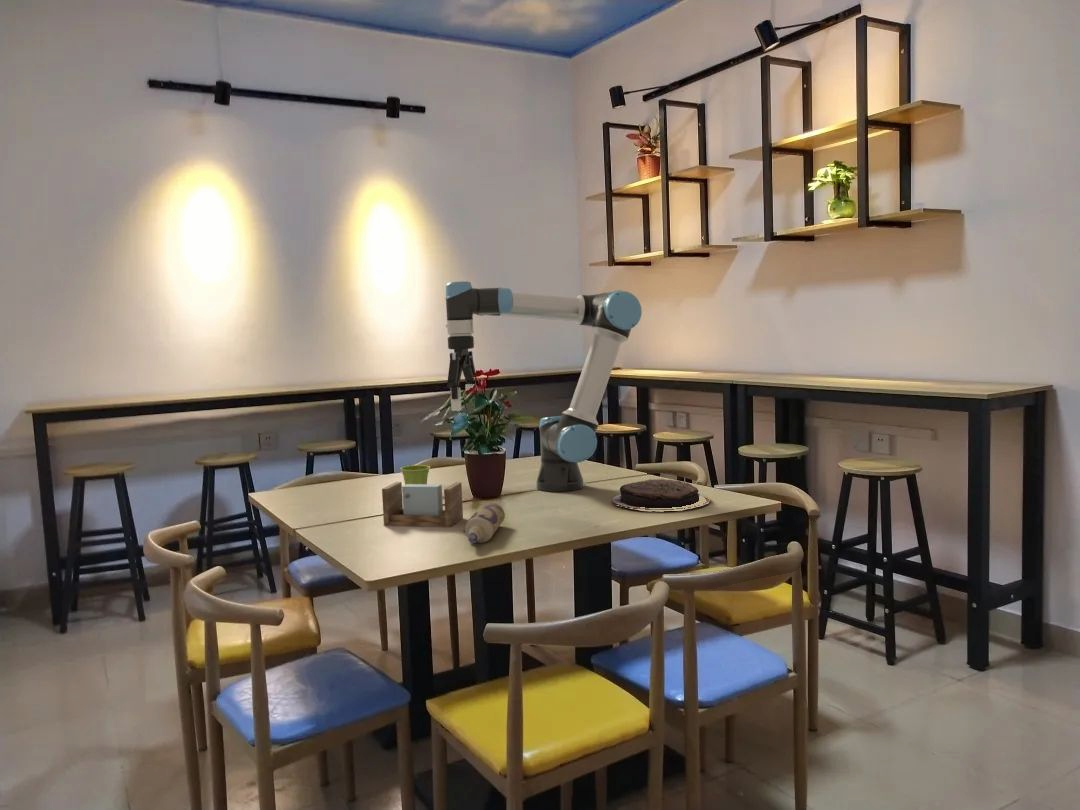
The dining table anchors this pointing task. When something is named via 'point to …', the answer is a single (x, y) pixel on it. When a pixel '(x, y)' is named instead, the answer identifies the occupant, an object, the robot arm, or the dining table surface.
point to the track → (396, 515)
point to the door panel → (422, 499)
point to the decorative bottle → (484, 522)
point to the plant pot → (415, 474)
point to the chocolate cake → (658, 495)
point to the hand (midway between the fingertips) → (463, 408)
